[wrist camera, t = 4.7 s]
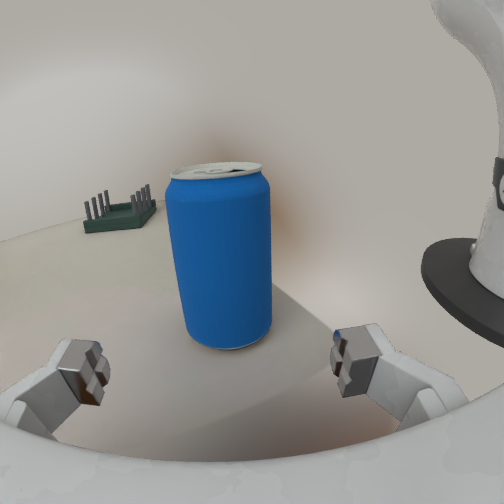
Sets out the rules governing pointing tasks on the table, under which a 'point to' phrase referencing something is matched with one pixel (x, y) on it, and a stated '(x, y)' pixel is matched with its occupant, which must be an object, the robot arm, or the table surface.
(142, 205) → the drying rack
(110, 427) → the table surface
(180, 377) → the table surface
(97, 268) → the table surface
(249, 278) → the beverage can
